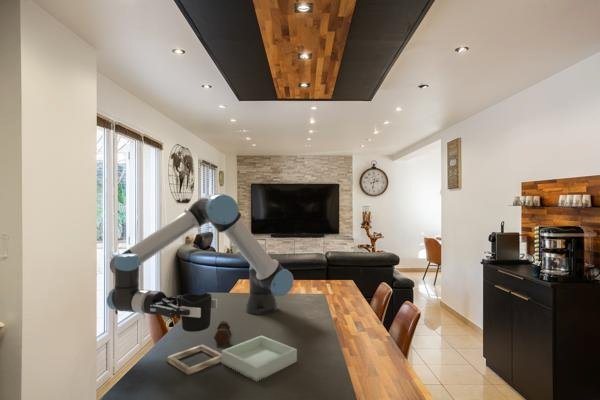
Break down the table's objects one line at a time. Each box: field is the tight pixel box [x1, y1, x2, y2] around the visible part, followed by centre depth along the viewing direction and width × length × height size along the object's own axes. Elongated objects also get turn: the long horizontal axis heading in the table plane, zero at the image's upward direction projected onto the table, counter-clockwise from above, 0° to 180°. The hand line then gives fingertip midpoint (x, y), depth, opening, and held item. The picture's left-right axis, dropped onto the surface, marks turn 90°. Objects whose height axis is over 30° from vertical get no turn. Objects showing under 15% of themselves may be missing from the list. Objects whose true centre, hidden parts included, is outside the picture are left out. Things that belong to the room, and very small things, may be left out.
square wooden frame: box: [166, 343, 222, 376], centre depth 110 cm, size 13×13×2 cm
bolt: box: [213, 320, 231, 345], centre depth 130 cm, size 6×5×15 cm
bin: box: [220, 335, 298, 382], centre depth 109 cm, size 17×17×4 cm
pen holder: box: [180, 292, 212, 333], centre depth 110 cm, size 9×9×10 cm
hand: (208, 308), depth 109 cm, fingers closed on pen holder, 9 cm apart
